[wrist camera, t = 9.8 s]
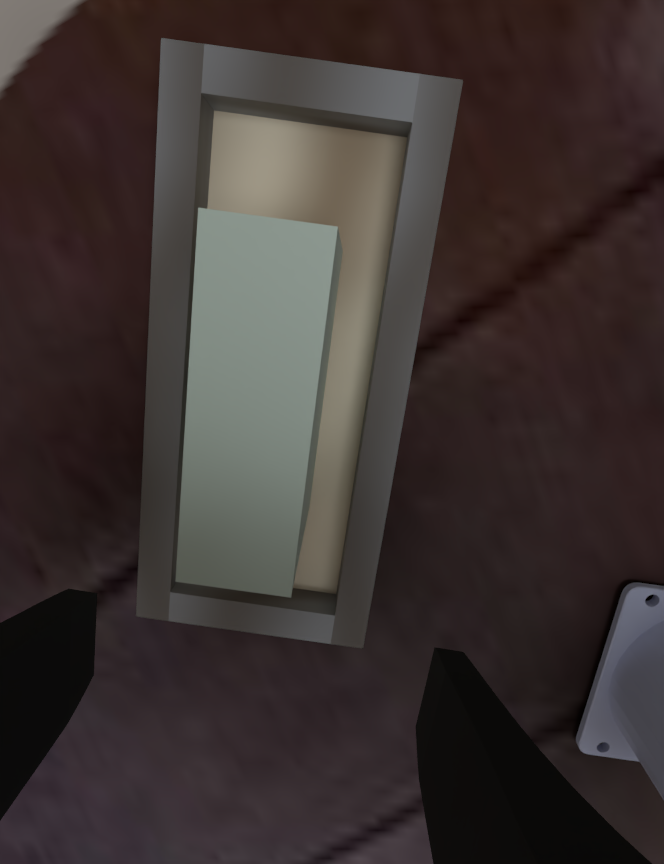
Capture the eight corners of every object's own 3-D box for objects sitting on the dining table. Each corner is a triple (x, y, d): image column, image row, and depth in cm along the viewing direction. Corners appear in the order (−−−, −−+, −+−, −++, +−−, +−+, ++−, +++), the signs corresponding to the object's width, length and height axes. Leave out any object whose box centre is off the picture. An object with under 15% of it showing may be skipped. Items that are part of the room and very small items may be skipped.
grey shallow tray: (448, 108, 16) (463, 80, 14) (361, 613, 21) (363, 648, 19) (186, 71, 16) (161, 38, 14) (158, 584, 21) (136, 616, 19)
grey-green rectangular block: (342, 251, 17) (338, 226, 11) (309, 506, 19) (291, 597, 13) (251, 238, 17) (198, 207, 11) (229, 495, 19) (175, 581, 13)
